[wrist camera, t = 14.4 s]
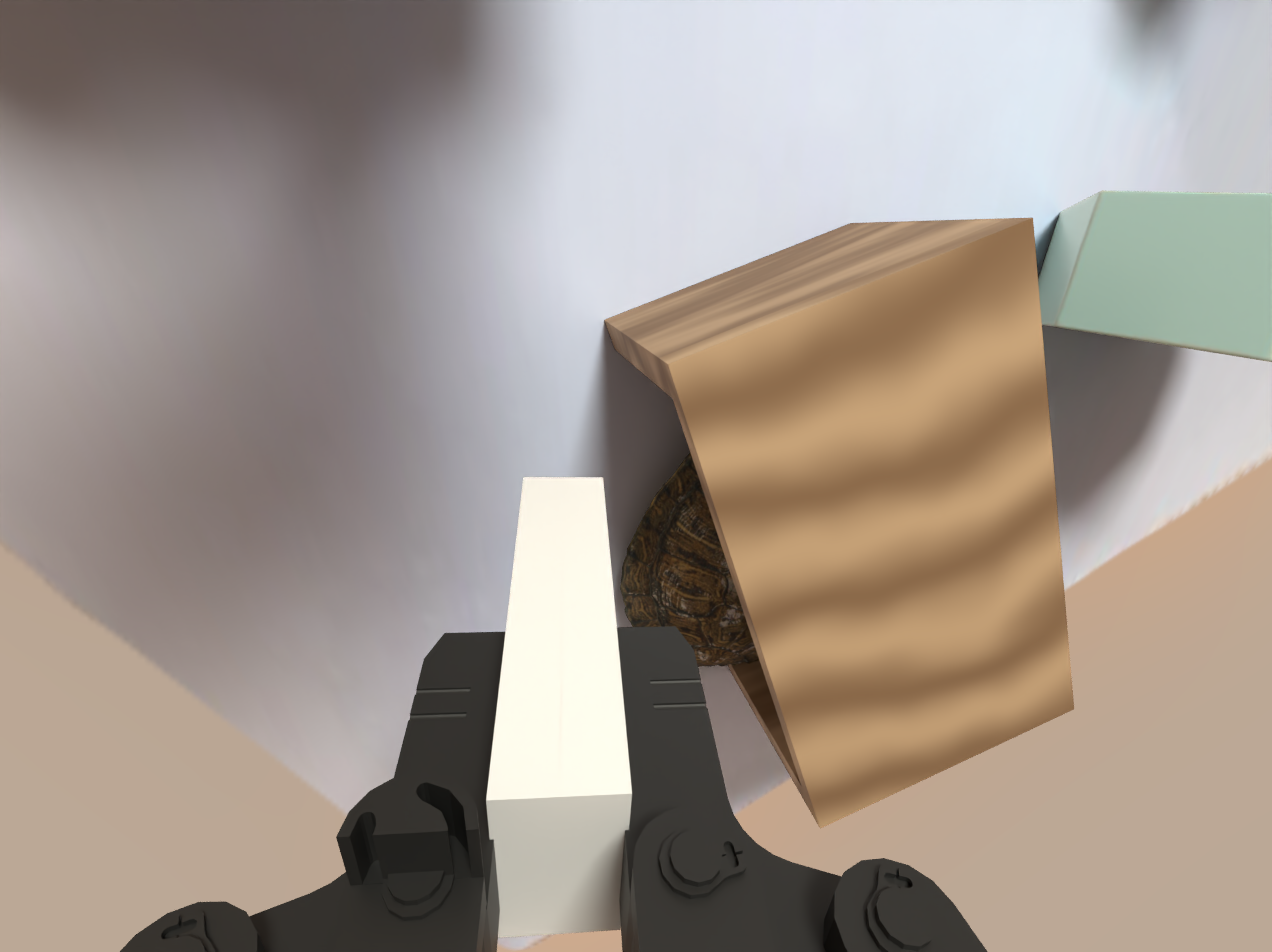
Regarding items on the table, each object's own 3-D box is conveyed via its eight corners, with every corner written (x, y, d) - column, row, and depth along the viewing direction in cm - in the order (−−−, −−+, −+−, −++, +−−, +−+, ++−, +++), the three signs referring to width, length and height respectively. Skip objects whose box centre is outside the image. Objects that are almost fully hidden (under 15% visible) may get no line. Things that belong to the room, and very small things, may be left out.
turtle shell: (592, 678, 44) (725, 426, 36) (584, 591, 52) (693, 367, 44) (794, 720, 49) (953, 507, 41) (759, 636, 57) (887, 441, 48)
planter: (1010, 319, 53) (1075, 332, 35) (1043, 218, 51) (1132, 173, 32) (1260, 360, 48) (1493, 400, 30) (1310, 250, 46) (1598, 218, 27)
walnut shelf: (604, 320, 42) (667, 364, 28) (850, 223, 43) (1032, 217, 29) (730, 670, 54) (820, 828, 39) (920, 586, 55) (1074, 709, 41)
